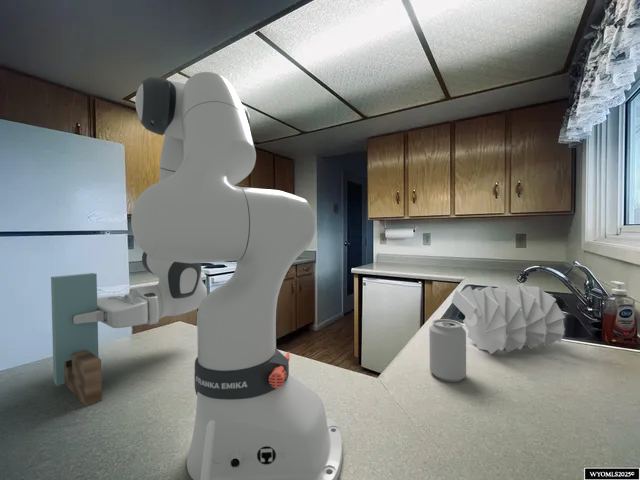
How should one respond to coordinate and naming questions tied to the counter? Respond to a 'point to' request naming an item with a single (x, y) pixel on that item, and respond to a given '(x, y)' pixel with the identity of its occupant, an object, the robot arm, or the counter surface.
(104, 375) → the counter surface
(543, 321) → the spiral staircase
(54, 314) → the teal plate
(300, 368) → the counter surface
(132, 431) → the counter surface
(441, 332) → the can
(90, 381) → the notched walnut block
